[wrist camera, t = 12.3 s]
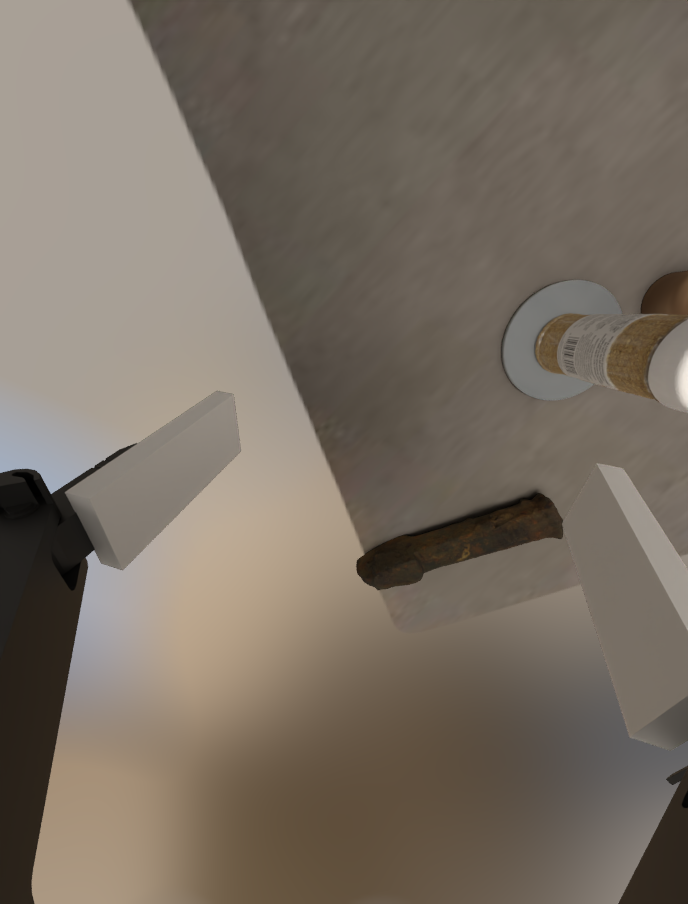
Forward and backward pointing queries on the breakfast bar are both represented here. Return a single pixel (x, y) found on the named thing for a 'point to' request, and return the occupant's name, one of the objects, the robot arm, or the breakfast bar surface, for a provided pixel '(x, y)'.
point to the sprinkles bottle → (621, 353)
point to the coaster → (531, 322)
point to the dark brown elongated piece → (459, 543)
